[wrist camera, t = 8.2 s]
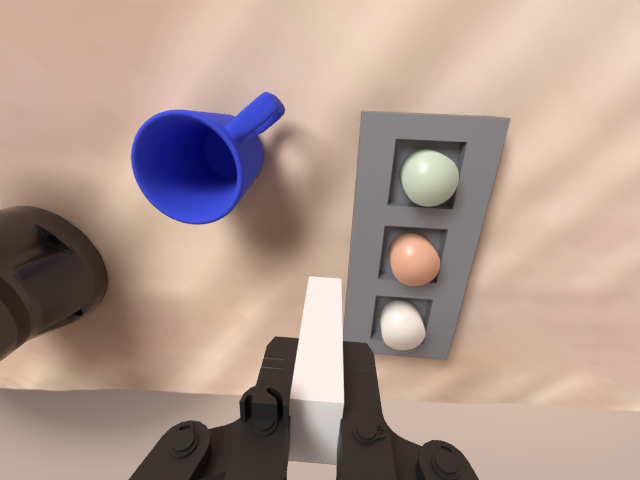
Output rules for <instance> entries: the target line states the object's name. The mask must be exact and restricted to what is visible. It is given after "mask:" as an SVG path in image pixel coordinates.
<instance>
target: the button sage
mask: <svg viewBox="0 0 640 480" xmlns="http://www.w3.org/2000/svg"><path fill="white" fill-rule="evenodd" d="M399 180H400V184H401V186H402V187H403V189H404V191H405V192H406V194H407V196H408V197H409V198H410V199H411V200H412V201H413V202H414V203H416V204H418V205H421V206H426V207H431V206H436V205H439V204H441V203H443V202H445V201H446V200H448V199H449V198H450V197H451V196H452V195H453V193H454V192H455V190H456V188H457V186H458V182H459V172H458V169H457V167H456V165H455V163H454V162H453V161H452V160H451V159H449V158H448V157H446V156H444V155H443V154H441V153H439V152H438V151H436V150H433V149H420V150H417V151H415V152H413V153H411V154H410V155H408V156H407V157H406V159H405V160H404V161H403V163H402V165H401V167H400V170H399Z"/></svg>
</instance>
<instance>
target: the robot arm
mask: <svg viewBox="0 0 640 480" xmlns="http://www.w3.org/2000/svg"><path fill="white" fill-rule="evenodd" d="M106 287H107V277H106V271H105V268H104V264H103V262H102V260H101V258H100V256H99V254H98V252H97V251H96V249H95V248H94V246H93V245H92V243H91V242H90V241H89V240H88V239H87V238H86V236H85V235H84V234H83V233H81V232H80V231H79V230H78V229H77V228H76V227H74V226H73V225H72V224H70V223H69V222H68V221H66V220H64V219H63V218H61V217H59V216H57V215H55V214H53V213H51V212H48V211H46V210H42V209H39V208H35V207H28V206H15V207H10V208H6V209H3V210H0V361H1V360H3V359H4V358H5V357H7V356H8V355H9V354H10V353H12V352H13V351H14V350H16V349H17V348H18V347H20V346H21V345H22V344H24V343H25V342H26V341H28V340H30V339H33V338H35V337H38V336H40V335H43V334H45V333H48V332H50V331H53V330H55V329H58V328H60V327H63V326H65V325H68V324H70V323H73V322H75V321H77V320H79V319H81V318H82V317H84V316H85V315H86V314H87V313H89V312H90V311H91V310H92V309H94V308H95V307H96V306H97V305H98V304H99V303H100V302H101V300H102V299H103V297H104V295H105V292H106ZM240 416H241V418H239V419H238V420H236V421H235V422H233V423H230V424H228V425H225V426H220V427H216V428H212V429H207V427H206V426H205V425H204V424H202V423H201V422H198V421H191V420H190V421H186V422H181V423H179V424H177V425H175V426H174V427H172V428H170V429H169V430H168V431H167V432H166V433H165V434H164V435H163V436H162V437H161V439H160V440H159V441H158V443H157V444H156V445H155V446H154V448H153V449H152V450H151V452H150V453H149V454H148V456H147V457H146V458H145V459H144V461H143V462H142V463H141V464H140V466H139V467H138V469H137V470H136V471H135V472H134V473H133V475H132V476H131V477H130V479H129V480H287V465H288V461H298V462H310V463H321V464H333V465H336V464H337V476H336V480H479V479H478V477H477V475H476V474H475V472H474V470H473V469H472V467H471V465H470V463H469V462H468V460H467V459H466V458H465V456H464V455H463V454H462V453H461V451H459V450H458V449H457V448H455V447H454V446H453V445H451V444H449V443H446V442H444V441H439V440H431V441H429V442H427V443H425V444H424V445H423V446H420V445H417V444H415V443H412V442H410V441H408V440H405V439H403V438H401V437H400V436H398V435H397V434H395V433H394V432H393V431H392V430H391V429H390V428H389V426H388V425H387V424H386V422H385V420H384V417H383V414H382V408H381V401H380V394H379V387H378V380H377V373H376V367H375V359H374V353H373V351H372V350H371V348H370V347H369V345H368V344H367V343H362V342H350V341H343V335H342V291H341V279H339V278H326V277H312V276H309V279H308V286H307V292H306V298H305V305H304V311H303V317H302V324H301V330H300V336H299V338H287V337H274V338H273V340H272V341H271V342H270V343H269V344H268V345H267V348H266V351H265V355H264V359H263V362H262V366H261V369H260V373H259V376H258V380H257V383H256V386H254V387H251V388H250V389H249V390H248V391H246V392H245V393H244V394H243V396H242V398H241V400H240Z"/></svg>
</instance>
